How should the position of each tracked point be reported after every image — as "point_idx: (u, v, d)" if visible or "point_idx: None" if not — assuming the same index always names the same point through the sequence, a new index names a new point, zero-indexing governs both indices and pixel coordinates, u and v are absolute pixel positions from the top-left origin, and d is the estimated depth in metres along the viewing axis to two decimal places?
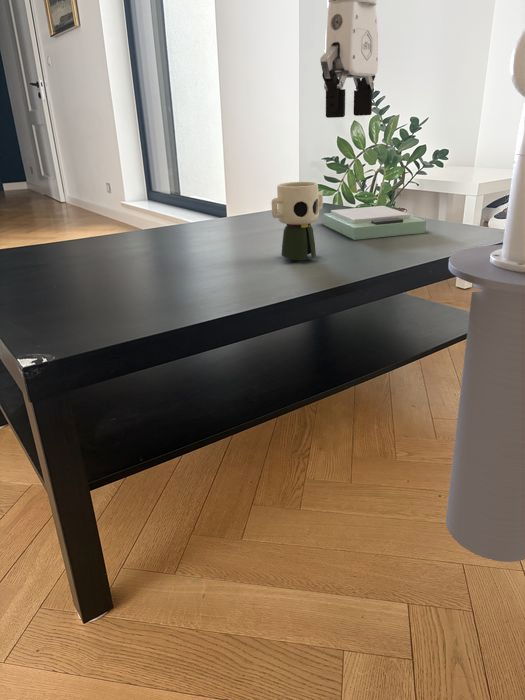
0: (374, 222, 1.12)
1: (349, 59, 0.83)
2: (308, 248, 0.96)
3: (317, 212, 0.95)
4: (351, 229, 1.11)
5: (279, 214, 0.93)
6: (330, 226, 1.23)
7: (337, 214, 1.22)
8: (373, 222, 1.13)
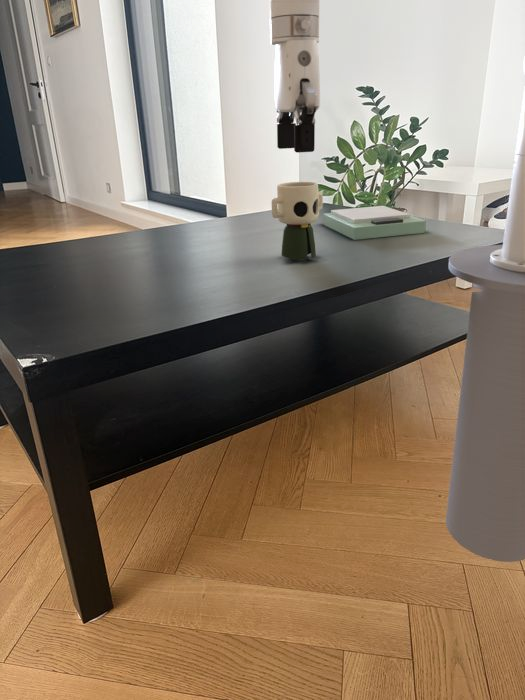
0: (374, 222, 1.12)
1: (318, 96, 0.85)
2: (308, 248, 0.96)
3: (317, 212, 0.95)
4: (351, 229, 1.11)
5: (279, 214, 0.93)
6: (330, 226, 1.23)
7: (337, 214, 1.22)
8: (373, 222, 1.13)
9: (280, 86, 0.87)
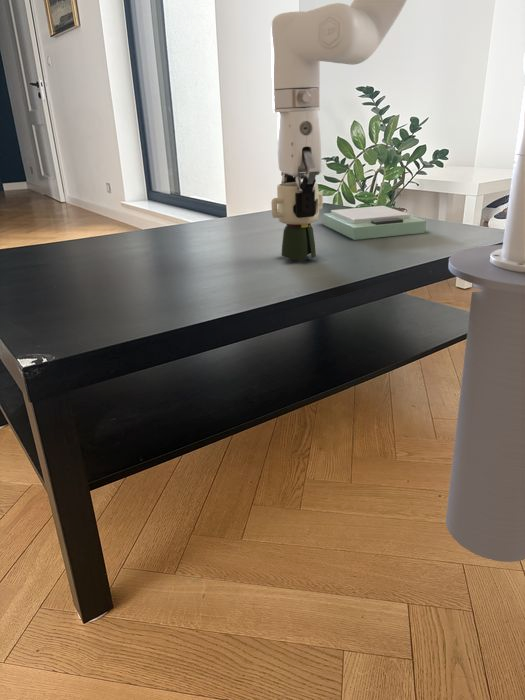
0: (374, 222, 1.12)
1: (320, 162, 0.88)
2: (308, 248, 0.96)
3: (317, 212, 0.95)
4: (351, 229, 1.11)
5: (279, 214, 0.93)
6: (330, 226, 1.23)
7: (337, 214, 1.22)
8: (373, 222, 1.13)
9: (283, 151, 0.91)
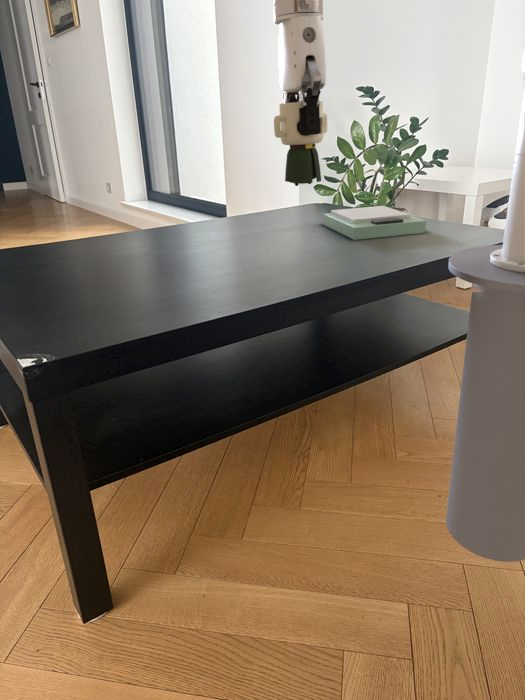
0: (374, 222, 1.12)
1: (324, 73, 0.84)
2: (313, 171, 0.91)
3: (322, 132, 0.90)
4: (351, 229, 1.11)
5: (282, 133, 0.88)
6: (330, 226, 1.23)
7: (337, 214, 1.22)
8: (373, 222, 1.13)
9: (285, 65, 0.87)
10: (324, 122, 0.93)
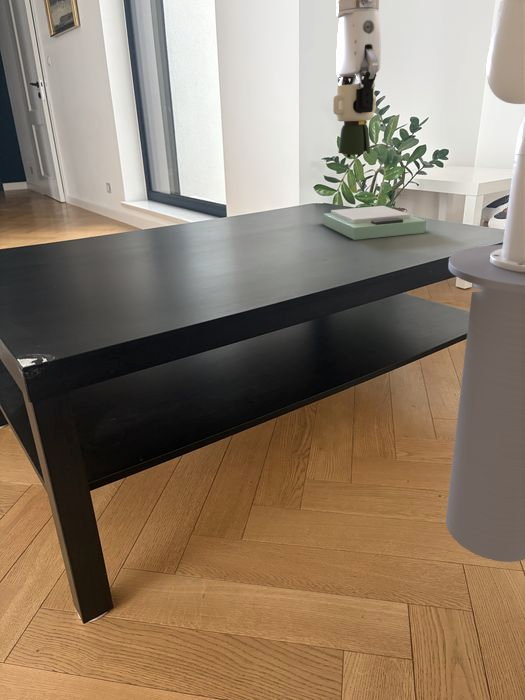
0: (374, 222, 1.12)
1: (379, 59, 0.99)
2: (364, 144, 1.07)
3: (372, 111, 1.06)
4: (351, 229, 1.11)
5: (340, 111, 1.04)
6: (330, 226, 1.23)
7: (337, 214, 1.22)
8: (373, 222, 1.13)
9: (344, 53, 1.02)
10: (373, 102, 1.08)
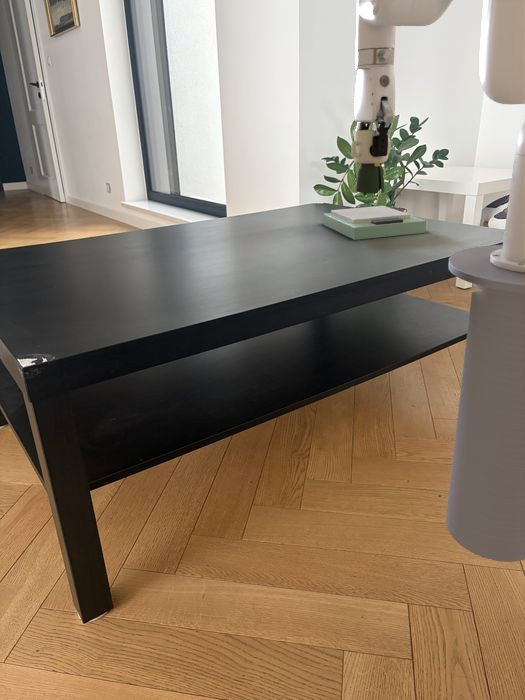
0: (374, 222, 1.12)
1: (394, 109, 1.09)
2: (379, 184, 1.16)
3: (387, 154, 1.15)
4: (351, 229, 1.11)
5: (357, 154, 1.13)
6: (330, 226, 1.23)
7: (337, 214, 1.22)
8: (373, 222, 1.13)
9: (362, 102, 1.11)
10: (388, 145, 1.18)
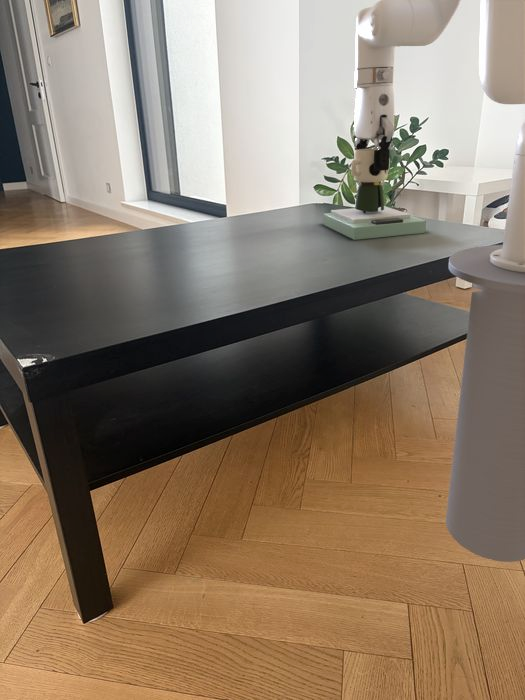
0: (374, 222, 1.12)
1: None
2: (378, 202, 1.18)
3: (387, 172, 1.17)
4: (351, 229, 1.11)
5: (357, 173, 1.15)
6: (330, 226, 1.23)
7: (337, 214, 1.22)
8: (373, 222, 1.13)
9: (361, 120, 1.13)
10: None
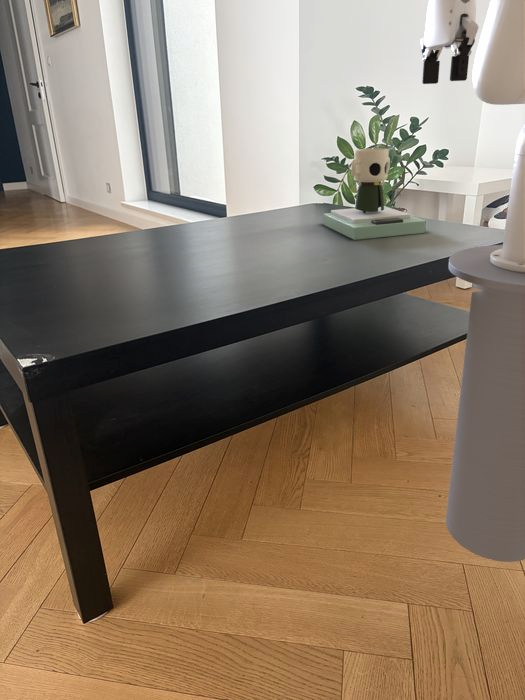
0: (374, 222, 1.12)
1: None
2: (378, 202, 1.18)
3: (387, 172, 1.17)
4: (351, 229, 1.11)
5: (357, 173, 1.15)
6: (330, 226, 1.23)
7: (337, 214, 1.22)
8: (373, 222, 1.13)
9: (436, 24, 1.00)
10: (387, 164, 1.19)
